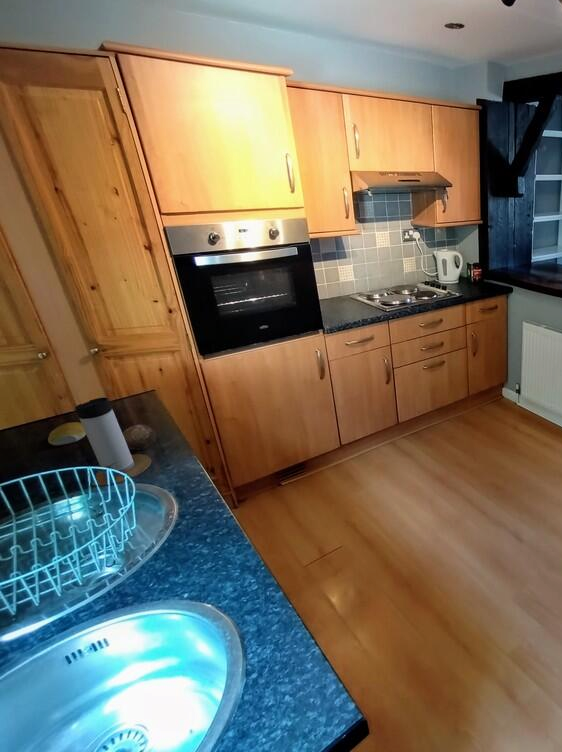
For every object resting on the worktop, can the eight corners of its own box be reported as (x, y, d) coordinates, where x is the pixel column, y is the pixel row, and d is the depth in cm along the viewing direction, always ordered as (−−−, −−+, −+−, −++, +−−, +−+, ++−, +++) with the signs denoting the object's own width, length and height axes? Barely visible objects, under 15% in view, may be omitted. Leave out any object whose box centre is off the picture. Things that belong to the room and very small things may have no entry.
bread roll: (89, 427, 136) (84, 415, 135) (86, 440, 130) (80, 428, 128) (52, 435, 132) (47, 423, 130) (47, 449, 125) (41, 437, 124)
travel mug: (114, 478, 113) (84, 409, 105) (98, 473, 115) (67, 404, 107) (141, 465, 118) (114, 397, 110) (124, 459, 120) (97, 393, 112)
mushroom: (115, 435, 126) (120, 420, 124) (150, 433, 133) (156, 420, 130) (118, 458, 123) (125, 443, 120) (154, 455, 129) (161, 441, 126)
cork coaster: (80, 492, 109) (80, 490, 109) (94, 463, 119) (94, 462, 119) (146, 476, 115) (146, 474, 115) (154, 450, 125) (154, 449, 125)
